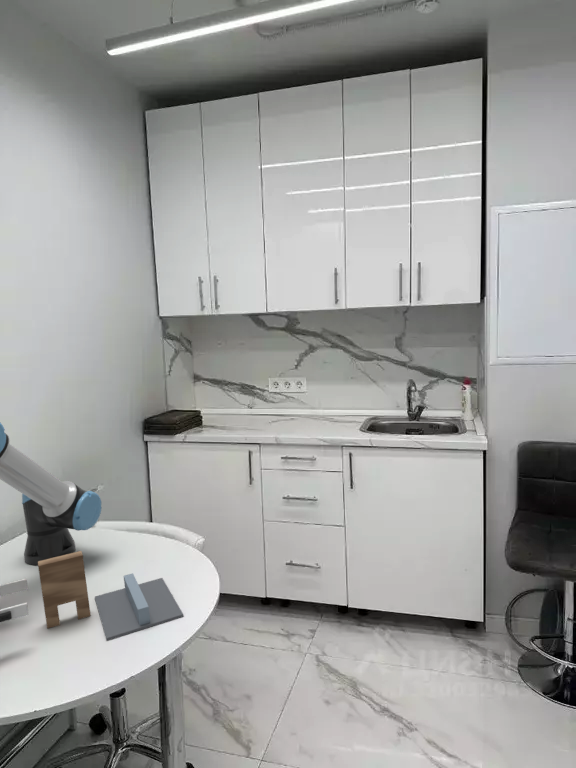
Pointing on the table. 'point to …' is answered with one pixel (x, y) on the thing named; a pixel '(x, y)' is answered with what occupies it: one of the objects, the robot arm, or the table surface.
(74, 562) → the brown notched block
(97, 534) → the table surface
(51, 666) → the table surface
